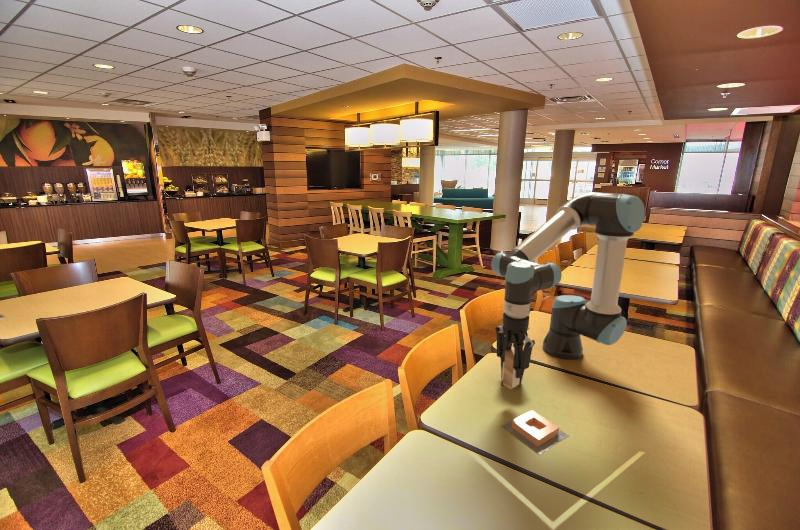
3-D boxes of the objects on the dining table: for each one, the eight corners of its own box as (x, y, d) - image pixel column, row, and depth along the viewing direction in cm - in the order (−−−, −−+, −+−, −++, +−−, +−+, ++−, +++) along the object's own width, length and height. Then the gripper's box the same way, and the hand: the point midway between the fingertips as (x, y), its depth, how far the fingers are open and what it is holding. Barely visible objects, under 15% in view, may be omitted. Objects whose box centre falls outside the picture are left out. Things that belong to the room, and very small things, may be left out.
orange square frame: (531, 416, 113) (532, 410, 112) (558, 434, 105) (559, 427, 105) (511, 427, 108) (512, 420, 107) (537, 446, 101) (538, 440, 100)
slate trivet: (530, 413, 115) (530, 410, 115) (568, 438, 105) (569, 435, 105) (501, 428, 109) (501, 426, 108) (539, 457, 98) (539, 454, 98)
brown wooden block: (509, 381, 120) (512, 347, 117) (517, 386, 118) (520, 352, 114) (502, 384, 119) (505, 350, 115) (510, 389, 116) (513, 355, 113)
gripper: (487, 307, 116) (483, 374, 123) (530, 326, 103) (523, 400, 109) (503, 302, 120) (499, 367, 126) (547, 320, 107) (539, 391, 113)
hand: (510, 382), depth 118 cm, fingers closed on brown wooden block, 3 cm apart
